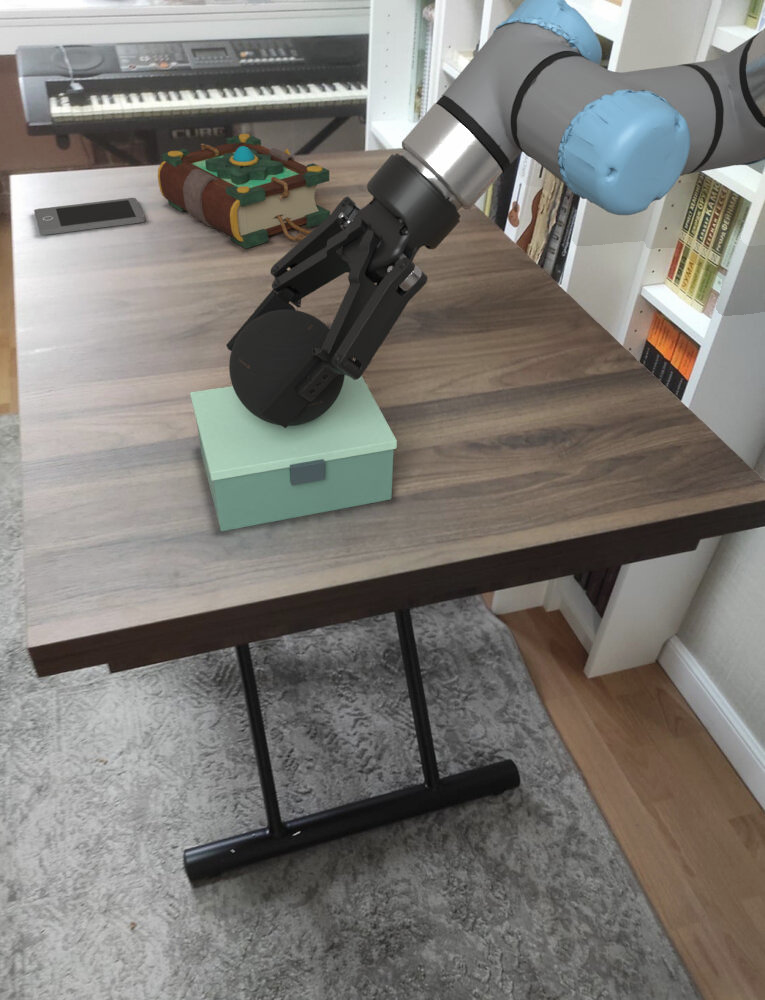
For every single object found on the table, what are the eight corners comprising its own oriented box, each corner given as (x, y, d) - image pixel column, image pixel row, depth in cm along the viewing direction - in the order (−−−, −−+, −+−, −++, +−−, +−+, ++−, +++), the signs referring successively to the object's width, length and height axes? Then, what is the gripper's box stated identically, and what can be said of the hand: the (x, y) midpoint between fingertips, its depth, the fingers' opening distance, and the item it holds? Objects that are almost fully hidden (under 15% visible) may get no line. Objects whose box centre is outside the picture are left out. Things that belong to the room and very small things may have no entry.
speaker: (219, 440, 73) (206, 339, 66) (254, 379, 80) (245, 283, 74) (330, 456, 72) (328, 355, 65) (355, 392, 79) (356, 295, 72)
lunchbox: (355, 422, 87) (356, 365, 83) (395, 503, 78) (398, 443, 73) (197, 448, 83) (189, 389, 79) (219, 537, 74) (211, 476, 69)
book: (375, 228, 124) (377, 159, 118) (260, 268, 113) (255, 195, 107) (269, 176, 139) (265, 113, 132) (157, 207, 128) (147, 140, 121)
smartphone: (136, 201, 129) (135, 196, 129) (146, 221, 123) (145, 217, 123) (34, 213, 125) (33, 208, 124) (40, 235, 119) (39, 230, 118)
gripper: (526, 268, 62) (327, 479, 67) (403, 164, 77) (250, 343, 83) (469, 206, 56) (259, 440, 62) (350, 108, 72) (191, 303, 78)
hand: (254, 385), depth 72 cm, fingers closed on speaker, 10 cm apart
